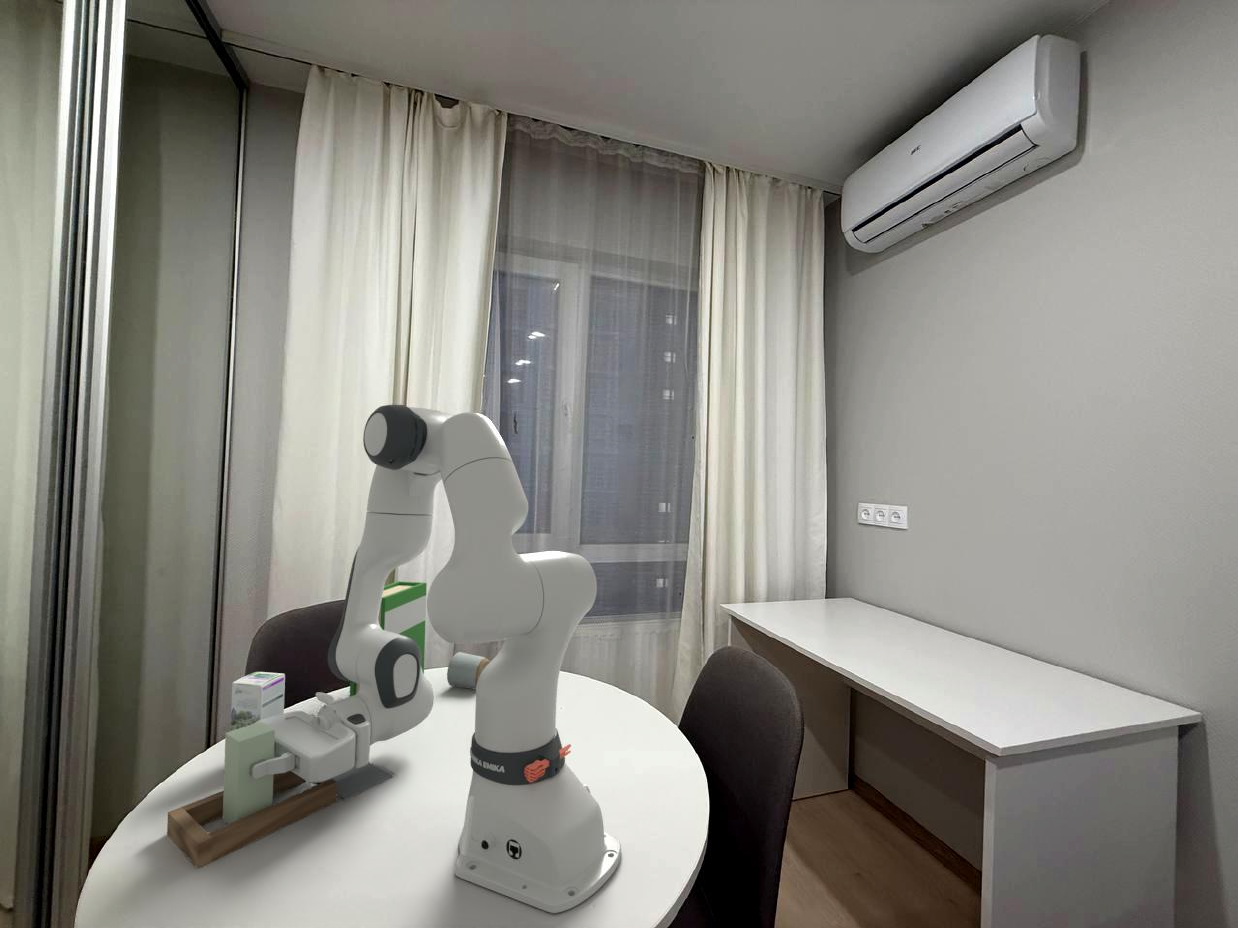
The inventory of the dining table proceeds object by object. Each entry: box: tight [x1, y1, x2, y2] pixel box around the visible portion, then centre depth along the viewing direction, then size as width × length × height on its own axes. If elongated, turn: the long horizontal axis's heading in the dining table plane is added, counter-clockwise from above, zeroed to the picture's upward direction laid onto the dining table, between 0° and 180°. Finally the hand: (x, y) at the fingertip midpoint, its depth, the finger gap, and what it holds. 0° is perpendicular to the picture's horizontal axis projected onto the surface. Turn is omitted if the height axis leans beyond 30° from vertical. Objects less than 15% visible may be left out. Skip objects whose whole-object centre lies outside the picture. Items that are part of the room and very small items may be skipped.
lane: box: [166, 771, 338, 869], centre depth 78 cm, size 11×18×3 cm, turn 145°
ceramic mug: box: [446, 651, 491, 690], centre depth 130 cm, size 11×8×8 cm
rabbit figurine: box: [315, 692, 342, 704], centre depth 110 cm, size 6×4×8 cm
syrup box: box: [230, 671, 286, 731], centre depth 94 cm, size 6×6×14 cm
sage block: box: [222, 722, 275, 825], centre depth 77 cm, size 4×4×12 cm
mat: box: [317, 762, 393, 800], centre depth 90 cm, size 12×8×1 cm, turn 55°
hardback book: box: [349, 581, 428, 697], centre depth 123 cm, size 18×7×24 cm, turn 172°
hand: (242, 765), depth 77 cm, fingers closed on sage block, 4 cm apart
